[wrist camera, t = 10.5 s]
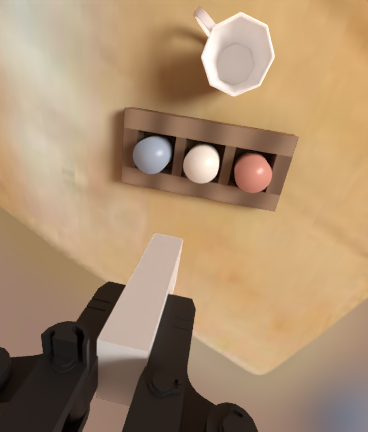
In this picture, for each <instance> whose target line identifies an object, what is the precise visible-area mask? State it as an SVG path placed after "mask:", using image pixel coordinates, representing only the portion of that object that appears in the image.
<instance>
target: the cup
mask: <svg viewBox="0 0 368 432" xmlns="http://www.w3.org/2000/svg"><path fill="white" fill-rule="evenodd" d="M193 15H194V17H195V19H196V21H197V22H198V24H199V25H200V26H201V28H202V29H203V31H204V32H205V34H206V35H207V36H208V40H207V42H206V45H205V47H204V50H203V53H202V55H201V59H202V62H203V65H204V68H205V72H206V75H207V78H208V81H209V84H210V86H212V87H214V88H217V89H219V90H221V91H223V92H225V93H227V94H229V95H231V96H233V97H234V96H237V95H239V94H242V93H244V92H247V91H249V90H251V89H254V88H256V87H259V86H260V85H261V83H262V81H263V79H264V77H265V75H266V73H267V71H268V69H269V67H270V65H271V63H272V61H273V59H274V57H275V56H274V51H273V47H272V43H271V38H270V34H269V30H268V26H267V25H266V24H264V23H262V22H260V21H258V20H256V19H254V18H252V17H250V16H248V15H246V14H244V13H242V12H240V13H238V14H236V15H234V16H232V17H230V18H228V19H226V20H224V21H222V22H220V23H218V24H215V23H214V21H213V20H212V19H211V18H210V16H209V15H208V14H207V13H206V12H205V11H204V10H203V9H202V8H201V7H200V6H199V7H198V8H197V10H196V11H195V12H194V13H193Z"/></svg>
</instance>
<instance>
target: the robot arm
mask: <svg viewBox="0 0 368 432" xmlns="http://www.w3.org/2000/svg"><path fill="white" fill-rule="evenodd" d="M182 243H183V239H182V238H177V237H172V236H167V235H163V234H158V233H154V235H153V237H152V238H151V240H150V242H149V244H148V246H147V248H146V249H145V251H144V253H143V255H142V257H141V259H140V261H139V262H138V264H137V266H136V268H135V270H134V272H133V274H132V275H131V277H130V279H129V281H128V283H127V285H123V284H119V283H114V282H110V281H109V282H107V283H106V284H104V285H103V286H101V287H100V288H98V290H97V291H96V293H95V294H94V296H93V297H92V300H90V302H89V303H88V305H87V307H86V308H85V309H84V311H83V312H82V314H81V315H80V317H79V318H78V320H77V321H76V322H72V321H66V322H62V323H57V324H55V325H53V326H51V327H49V328H48V329H47V330H46V331H45V332H44V333H42V334H41V339H42V348H43V354H40V355H34V356H22V357H10V355H9V353H8V352H7V351H6V350H5V348H1V347H0V432H82V430H83V428H84V426H85V424H86V421H87V419H88V415H89V411H90V402H91V400H92V398H93V396H94V393H95V391H96V392H97V393H96V395H97V396H96V397H97V398H99V399H103V400H107V401H111V402H115V403H119V404H123V405H127V406H130V408H129V411H128V415H127V417H126V421H125V424H124V427H123V430H122V432H258V430H257V428H256V426H255V423H254V421H253V419H252V418H251V417H250V416H249V414H248V413H247V412H246V411H245V410H244V409H243V408H241V407H239V406H238V405H236V404H233V403H227V402H226V403H221V404H218V405H214V404H213V403H211V402H210V401H208V400H207V399H205V398H204V397H202V396H201V395H200V394H199V393H197V392H196V391H195V389H194V388H193V387H192V385H191V383H190V381H189V378H188V374H187V365H188V358H189V351H190V344H191V337H192V330H193V324H194V317H195V310H196V309H195V306H194V303H193V300H192V299H190V298H186V297H181V296H177V295H172V294H173V291H174V287H175V284H176V279H177V273H178V267H179V261H180V255H181V249H182ZM96 389H97V390H96Z"/></svg>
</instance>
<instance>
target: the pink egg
mask: <svg viewBox="0 0 368 432" xmlns="http://www.w3.org/2000/svg"><path fill="white" fill-rule="evenodd" d="M234 173H235V181H236V184H237V185H238V187H239V188H240V189H241V190H243V191H245V192H248V193H257V192H260V191H262V190H264V189H265V188H266V187H267V186H268V185H269V183H270V181H271V179H272V170H271V167H270V165H269V164H268V162H267V161H266V159H265V158H264V157H263V156H262V155H261V154H259V153H257V152H247V153H244V154H242V155H241V156H240V157H239V158H238V159H237V160H236V162H235V165H234Z"/></svg>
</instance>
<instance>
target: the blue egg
mask: <svg viewBox="0 0 368 432" xmlns="http://www.w3.org/2000/svg"><path fill="white" fill-rule="evenodd" d="M172 156H173V148H172V145H171V143H170V142H169V140H168V139H167V138H165V137H163V136H161V135H152V136H150V137H148V138H146V139H144V140H142V141H140V142H139V143H138V144H137V145H136V146H135V148H134V151H133V159H134V162H135V164H136V166H137V167H138V168H139V169H140V170H141V171H142V172H144V173H147V174H156V173H158V172H160V171H161V170H163V168H164V167H165V166H166V165H167V164H168V163H169V162H170V160H171V159H172Z"/></svg>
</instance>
